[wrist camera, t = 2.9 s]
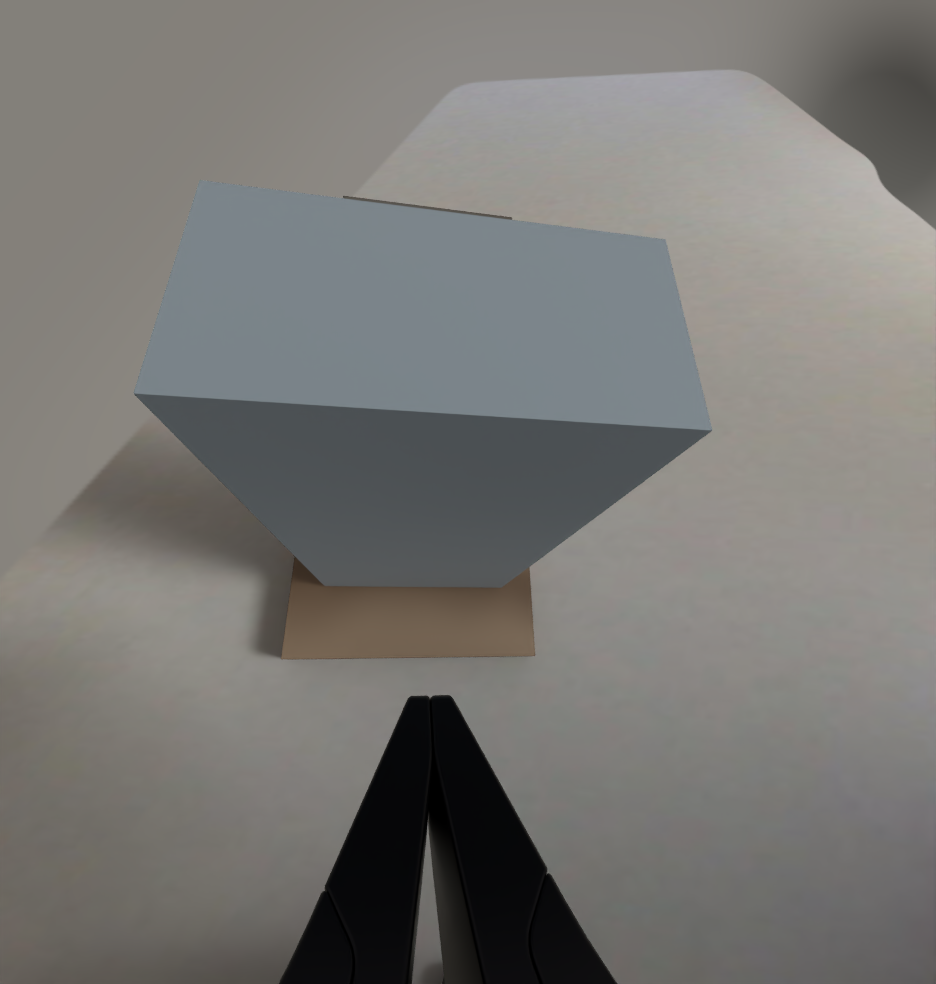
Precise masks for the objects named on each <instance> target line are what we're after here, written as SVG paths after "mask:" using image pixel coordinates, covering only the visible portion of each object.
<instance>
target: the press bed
mask: <svg viewBox="0 0 936 984" xmlns="http://www.w3.org/2000/svg"><path fill="white" fill-rule="evenodd" d="M343 198H344V199H352V200H360V201H367V202H375V203H383V204H391V205H399V206H407V207H414V208H422V209H430V210H438V211H446V212H454V213H461V214H469V215H477V216H485V217H493V218H501V219H508V220H512V217H504V216H496V215H489V214H481V213H473V212H465V211H457V210H450V209H442V208H434V207H426V206H418V205H411V204H403V203H395V202H387V201H380V200H372V199H364V198H356V197H348V196H343ZM503 656H535V647H534V631H533V616H532V601H531V585H530V570H529V567H528V568H527V569H526V570H524V571H523V572H522V573H520V574H519V575H518V576H516V577H515V578H514V579H512V580H511V581H510V582H508V583H507V584H506V585H504V586H503V587H502V588H483V587H371V586H324V585H323V584H322V583H321V582H320V581H319V580H318V579H317V578H316V577H315V576H314V575H313V574H312V573H311V572H310V571H309V570H308V569H307V568H306V567H305V566H304V565H303V564H302V563H301V562H300V561H299V560H298V559H297V558H296V557H295V558H294V566H293V573H292V581H291V588H290V596H289V603H288V611H287V619H286V626H285V634H284V641H283V649H282V656H281V659H352V658H427V657H503Z"/></svg>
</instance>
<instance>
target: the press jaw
mask: <svg viewBox="0 0 936 984" xmlns="http://www.w3.org/2000/svg"><path fill="white" fill-rule="evenodd" d="M134 394H135V396H137V398H138V399H139V400H140V401H141V402H142V403H143V404H145V406H146V407H147V408H148V409H150V411H151V412H152V413H153V414H154V415H155V416H156V417H157V418H158V419H159V420H160V421H161V422H162V423H163V424H164V425H165V426H166V427H167V428H168V429H169V430H170V431H171V432H172V433H173V434H174V435H175V436H176V437H177V438H178V439H179V440H180V441H181V442H182V443H183V444H184V445H185V446H186V447H187V448H188V449H189V450H190V451H191V452H192V453H193V454H194V455H195V456H196V457H197V458H198V459H199V460H200V461H201V462H202V463H203V464H204V465H205V466H206V467H207V468H208V469H209V470H210V471H211V472H212V473H213V474H214V475H215V476H216V477H217V478H218V479H219V480H220V481H221V482H222V483H223V484H224V485H225V486H226V487H227V488H228V489H229V490H230V491H231V492H232V493H233V494H234V495H235V496H236V497H237V498H238V499H239V500H240V501H241V502H242V503H243V504H244V505H245V506H246V507H247V508H248V509H249V510H250V511H251V512H252V513H253V514H254V515H255V516H256V517H257V519H258V520H259V521H260V522H261V523H262V524H263V525H264V526H265V527H266V528H267V529H268V530H269V531H270V532H271V533H272V534H273V535H274V536H275V537H276V538H277V539H278V540H279V541H280V542H281V543H282V544H283V545H284V546H285V547H286V548H287V549H288V550H289V551H290V552H291V553H292V554H293V555H294V556H295V557H296V558H297V559H298V560H299V561H300V562H301V563H302V564H303V565H304V566H305V567H306V568H307V569H308V570H309V571H310V572H311V573H312V574H313V575H314V576H315V577H316V578H317V579H318V580H319V581H320V582H321V583H322V584H323V585H324V586H371V587H483V588H502V587H503V586H504V585H506V584H507V583H508V582H510V581H511V580H512V579H514V578H515V577H516V576H518V575H519V574H520V573H522V572H523V571H524V570H526V569H527V568H528V567H530V566H531V565H532V564H534V563H535V562H537V561H538V560H539V559H541V558H542V557H543V556H545V555H546V554H547V553H549V552H550V551H551V550H553V549H554V548H555V547H557V546H558V545H559V544H561V543H562V542H563V541H565V540H566V539H567V538H569V537H570V536H571V535H573V534H574V533H575V532H577V531H578V530H579V529H581V528H582V527H583V526H585V525H586V524H587V523H589V522H590V521H591V520H593V519H594V518H596V517H597V516H598V515H600V514H601V513H602V512H604V511H605V510H606V509H608V508H609V507H610V506H612V505H613V504H614V503H616V502H617V501H618V500H620V499H621V498H622V497H624V496H625V495H626V494H628V493H629V492H630V491H632V490H633V489H634V488H636V487H637V486H638V485H640V484H641V483H642V482H644V481H645V480H646V479H648V478H649V477H651V476H652V475H653V474H655V473H656V472H657V471H659V470H660V469H661V468H663V467H664V466H665V465H667V464H668V463H669V462H671V461H672V460H673V459H675V458H676V457H677V456H679V455H680V454H681V453H683V452H684V451H685V450H687V449H688V448H689V447H691V446H692V445H693V444H695V443H696V442H697V441H699V440H700V439H701V438H703V437H704V436H706V435H707V434H708V433H710V432H711V431H712V427H711V423H710V419H709V415H708V411H707V407H706V403H705V399H704V394H703V390H702V386H701V382H700V378H699V374H698V370H697V366H696V362H695V358H694V354H693V350H692V346H691V342H690V338H689V334H688V329H687V325H686V321H685V317H684V313H683V309H682V305H681V301H680V297H679V293H678V289H677V285H676V281H675V277H674V273H673V268H672V264H671V260H670V256H669V252H668V248H667V244H666V240H665V239H657V238H649V237H642V236H634V235H626V234H618V233H610V232H602V231H595V230H587V229H579V228H571V227H563V226H555V225H548V224H540V223H532V222H524V221H516V220H508V219H501V218H493V217H485V216H477V215H469V214H461V213H454V212H446V211H438V210H430V209H422V208H414V207H407V206H399V205H391V204H383V203H375V202H367V201H360V200H352V199H344V198H336V197H328V196H320V195H313V194H305V193H297V192H288V191H281V190H273V189H266V188H258V187H250V186H242V185H234V184H226V183H219V182H211V181H203V180H200V181H199V184H198V187H197V191H196V194H195V197H194V200H193V203H192V207H191V210H190V213H189V216H188V220H187V223H186V226H185V229H184V232H183V236H182V239H181V242H180V245H179V248H178V252H177V255H176V258H175V261H174V265H173V268H172V271H171V274H170V277H169V281H168V284H167V287H166V290H165V294H164V297H163V300H162V303H161V307H160V310H159V313H158V316H157V319H156V323H155V326H154V329H153V332H152V335H151V339H150V342H149V345H148V349H147V352H146V355H145V358H144V361H143V365H142V368H141V371H140V374H139V377H138V381H137V384H136V387H135V390H134Z"/></svg>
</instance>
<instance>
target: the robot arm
mask: <svg viewBox="0 0 936 984" xmlns="http://www.w3.org/2000/svg"><path fill="white" fill-rule="evenodd" d="M427 823H428V826H429V839H430V848H431V858H432V867H433V876H434V886H435V895H436V904H437V913H438V923H439V932H440V941H441V951H442V960H443V969H444V979H443V982H442V984H617V983H616V981H615V980H614V978H613V977H612V975H611V974H610V972H609V970H608V969H607V967H606V966H605V964H604V963H603V961H602V960H601V958H600V957H599V955H598V954H597V952H596V950H595V949H594V947H593V946H592V944H591V943H590V941H589V940H588V938H587V936H586V935H585V933H584V931H583V930H582V928H581V926H580V925H579V923H578V921H577V919H576V918H575V916H574V914H573V913H572V911H571V909H570V908H569V906H568V904H567V902H566V901H565V899H564V897H563V895H562V894H561V892H560V890H559V888H558V886H557V885H556V883H555V881H554V879H553V877H552V876H551V874H549V873H548V874H547V867H546V865H545V863H544V862H543V860H542V858H541V856H540V854H539V853H538V851H537V849H536V847H535V845H534V844H533V842H532V840H531V838H530V836H529V834H528V833H527V831H526V829H525V827H524V825H523V824H522V822H521V820H520V818H519V816H518V815H517V813H516V811H515V809H514V807H513V806H512V804H511V802H510V800H509V798H508V797H507V795H506V793H505V791H504V789H503V788H502V786H501V784H500V782H499V780H498V779H497V777H496V775H495V773H494V771H493V770H492V768H491V766H490V764H489V762H488V761H487V759H486V757H485V755H484V753H483V752H482V750H481V748H480V746H479V744H478V743H477V741H476V739H475V737H474V735H473V733H472V732H471V730H470V728H469V726H468V724H467V723H466V721H465V719H464V717H463V715H462V714H461V712H460V710H459V708H458V706H457V705H456V703H455V701H454V699H453V698H452V697H451V696H449V695H435V696H432V697H431V698H429V697H428V696H411V697H409V698H408V700H407V702H406V704H405V706H404V708H403V711H402V713H401V715H400V717H399V720H398V722H397V724H396V726H395V729H394V731H393V733H392V735H391V738H390V740H389V742H388V744H387V747H386V749H385V751H384V754H383V756H382V758H381V760H380V763H379V765H378V767H377V769H376V772H375V774H374V776H373V778H372V781H371V783H370V785H369V787H368V790H367V792H366V794H365V796H364V799H363V801H362V803H361V805H360V808H359V810H358V812H357V815H356V817H355V819H354V821H353V824H352V826H351V828H350V830H349V833H348V835H347V837H346V839H345V842H344V844H343V846H342V848H341V851H340V853H339V855H338V857H337V860H336V862H335V864H334V867H333V869H332V871H331V873H330V876H329V878H328V880H327V882H326V885H325V891H323V892H322V893H321V895H320V897H319V900H318V902H317V904H316V906H315V909H314V911H313V913H312V915H311V918H310V920H309V922H308V924H307V926H306V929H305V931H304V933H303V935H302V937H301V939H300V941H299V943H298V945H297V948H296V950H295V952H294V954H293V956H292V958H291V960H290V962H289V965H288V967H287V969H286V971H285V973H284V974H283V976H282V978H281V980H280V982H279V984H412V974H413V964H414V954H415V945H416V935H417V925H418V915H419V905H420V895H421V885H422V875H423V866H424V856H425V846H426V835H427ZM546 874H547V875H546Z"/></svg>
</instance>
